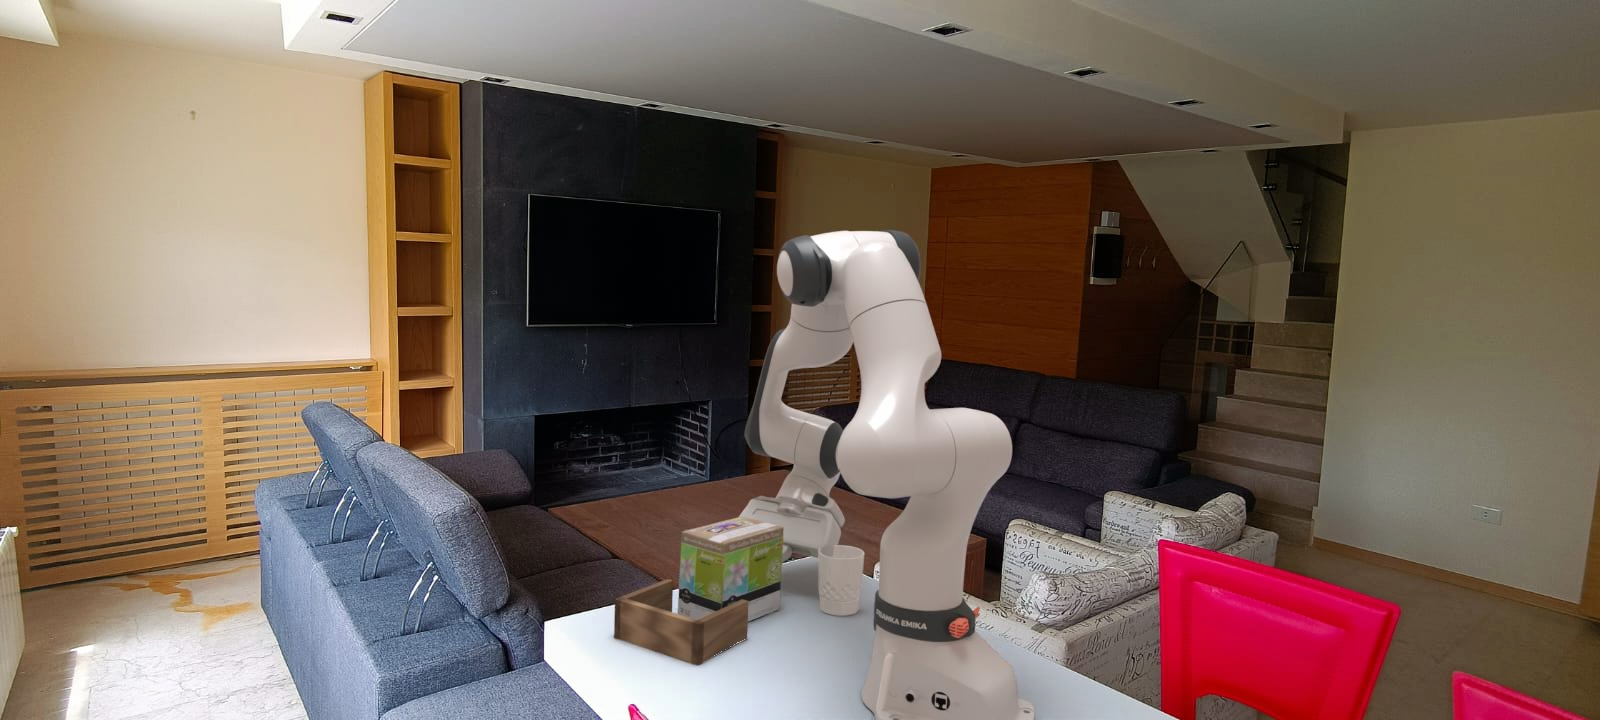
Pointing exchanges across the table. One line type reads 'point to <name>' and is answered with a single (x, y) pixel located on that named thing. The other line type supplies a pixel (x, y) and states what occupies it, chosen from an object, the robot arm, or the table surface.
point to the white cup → (840, 580)
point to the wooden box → (677, 625)
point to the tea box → (730, 567)
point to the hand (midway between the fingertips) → (767, 568)
